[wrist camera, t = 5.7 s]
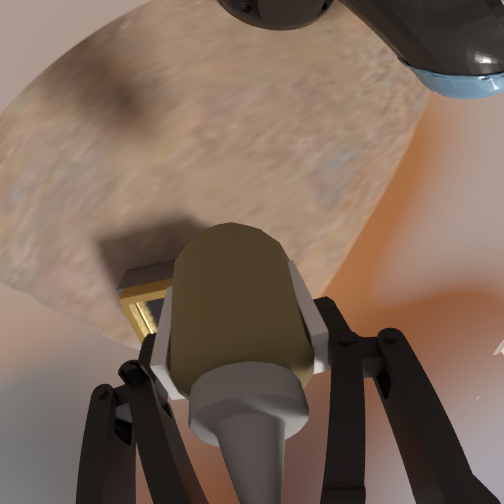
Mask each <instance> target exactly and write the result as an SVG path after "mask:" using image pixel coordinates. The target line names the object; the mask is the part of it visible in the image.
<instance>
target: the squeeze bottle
mask: <svg viewBox="0 0 504 504" xmlns="http://www.w3.org/2000/svg"><path fill="white" fill-rule="evenodd" d="M287 261H290V259H289V258H288V256H287V254H286V253H285V251H284V249H283V248H282V246H281V244H280V243H279V242H278V241H276V240H275V239H273V238H272V237H270V236H269V235H268V234H266V233H265V232H263V231H262V230H260V229H257V228H254V227H251V226H247V225H243V224H238V223H233V222H230V223H224V224H219V225H215V226H213V227H211V228H209V229H208V230H206V231H205V232H203V233H201V234H200V235H198V236H197V237H195V238H193V239H192V240H190V241H189V242H187V244H186V245H185V247H184V248H183V250H182V251H181V253H180V254H179V256H178V257H177V259H176V260H175V265H174V272H173V280H172V306H171V338H170V378H171V380H172V382H173V384H174V385H175V387H176V389H177V391H178V393H179V394H181V395H182V396H184V397H185V398H186V399H188V400H189V428H190V429H191V430H192V432H193V433H194V435H195V436H196V437H197V438H199V439H201V440H203V441H205V442H207V443H208V444H211V445H215V446H219V447H220V449H221V452H222V455H223V457H224V461H225V463H226V466H227V470H228V472H229V475H230V478H231V481H232V483H233V486H234V489H235V491H236V494H237V496H238V499H239V501H240V504H281V499H282V484H283V483H282V482H283V466H284V445H285V440H286V439H287V438H289V437H290V436H292V435H294V434H295V433H297V432H299V431H300V429H301V428H302V427H303V426H304V424H305V423H306V422H307V421H308V419H309V407H308V404H307V401H306V398H305V394H304V391H303V388H304V387H305V386H306V384H307V382H308V381H309V379H310V378H311V376H312V374H313V373H314V356H315V354H314V349H313V348H312V345H311V342H310V339H309V336H308V333H307V330H306V327H305V324H304V321H303V318H302V315H301V312H300V309H299V306H298V303H297V299H296V295H295V291H294V287H293V283H292V278H291V274H290V270H289V266H288V262H287Z"/></svg>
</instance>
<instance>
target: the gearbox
mask: <svg viewBox="0 0 504 504" xmlns="http://www.w3.org/2000/svg"><path fill="white" fill-rule="evenodd" d="M174 265H175V260H173V261H169V262H164V263H160V264H156V265H151V266H147V267H143V268H138V269H134V270H130V271H126V273H125V275H124V277H123V279H122V281H121V283H120V285H119V287H118V289H117V291H118V293H119V295H120V297H119V299H118V300H119V302H120V304H121V306H122V308H123V310H124V312H125V314H126V316H127V318H128V320H129V322H130V324H131V325H132V327H133V329H134V331H135V333H136V335H137V336H138V338H139V340H140V342H141V344H142V342H143V340H144V338H145V337H146V336H147V334H150V333H157V329H158V325H159V320H160V316H161V312H162V308H163V303H164V299H165V295H166V291H167V288H168V287H172V280H173V272H174Z"/></svg>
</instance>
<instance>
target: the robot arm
mask: <svg viewBox="0 0 504 504" xmlns="http://www.w3.org/2000/svg"><path fill="white" fill-rule="evenodd" d="M338 1H340V2H341V3H342V4H343V5H345V6H346V7H347V8H348V9H349V10H351V11H352V12H353V13H354V14H355V15H356V16H358V17H359V18H360V19H361V20H362V21H363V22H364V23H365V24H366V25H367V26H368V27H370V28H371V29H372V30H373V31H374V32H375V33H376V34H377V35H378V36H379V37H380V38H381V39H382V40H383V41H384V42H385V43H386V44H387V45H388V46H389V47H390V49H391V50H392V51H393V52H394V53H395V54H396V55H397V57H398V59H399V61H400V62H401V63H402V64H404V65H405V66H406V67H408V68H410V70H411V71H412V72H413V73H414V74H415V75H416V76H417V77H418V78H419V80H420V81H421V82H422V83H423V84H424V85H425V86H426V87H427V88H429V89H430V90H432V91H434V92H437V93H439V94H441V95H442V96H445V97H450V98H455V99H477V98H484V97H488V96H492V95H495V94H498V93H500V92H502V91H504V0H338ZM219 2H220V3H221V5H222V6H223V7H224V8H225V9H226V10H227V11H228V12H229V13H230V14H231V15H233V16H234V17H236V18H237V19H239V20H241V21H243V22H245V23H247V24H250V25H252V26H255V27H259V28H263V29H269V30H293V29H299V28H302V27H305V26H308V25H310V24H312V23H313V22H315V21H316V20H318V19H319V18H320V17H321V16H322V15H323V14H325V13H326V12H327V10H328V9H329V8H330V6H331V4H332V2H333V0H219ZM287 262H288V266H289V270H290V274H291V278H292V283H293V287H294V291H295V295H296V299H297V303H298V306H299V309H300V312H301V315H302V318H303V321H304V324H305V327H306V330H307V333H308V336H309V339H310V342H311V345H312V348H313V349H314V354H315V356H314V374H315V373H320V372H323V371H326V370H329V366H330V368H331V392H330V412H329V428H328V441H327V451H326V461H325V470H324V479H323V486H322V494H321V500H320V504H365V499H366V489H365V486H364V476H365V398H364V379H363V378H368V377H372V378H373V380H374V383H375V385H376V388H377V391H378V393H379V395H380V398H381V401H382V403H383V406H384V409H385V412H386V414H387V417H388V420H389V422H390V425H391V428H392V431H393V433H394V436H395V439H396V442H397V445H398V448H399V451H400V454H401V457H402V460H403V463H404V466H405V469H406V472H407V476H408V479H409V482H410V485H411V489H412V492H413V496H414V498H415V501H416V504H501V503H500V501H499V500H498V499H497V498H496V497H495V496H494V495H493V494H492V493H491V492H490V491H489V490H488V489H487V488H486V487H485V486H484V485H483V484H482V483H481V482H480V481H479V480H478V479H477V478H476V477H475V476H474V475H473V474H472V471H471V469H470V467H469V464H468V461H467V459H466V456H465V454H464V452H463V449H462V447H461V445H460V443H459V440H458V438H457V435H456V433H455V431H454V429H453V427H452V424H451V422H450V420H449V418H448V416H447V414H446V412H445V410H444V408H443V406H442V404H441V402H440V400H439V398H438V396H437V394H436V392H435V390H434V388H433V386H432V384H431V383H430V380H429V379H428V377H427V375H426V373H425V372H424V370H423V368H422V366H421V364H420V362H419V361H418V359H417V357H416V355H415V353H414V352H413V350H412V348H411V346H410V345H409V343H408V341H407V340H406V338H405V336H404V335H403V333H402V332H401V331H400V330H398V329H395V328H385V329H383V330H381V331H380V332H379V333H378V336H377V337H360V336H358V335H357V334H356V333H355V332H352V331H351V330H350V328H349V326H348V325H347V323H346V321H345V320H344V318H343V316H342V314H341V313H340V311H339V309H338V308H337V306H336V304H335V302H334V301H333V300H332V299H330V298H328V297H327V296H326V297H322V298H318V299H314V300H313V299H312V297H311V295H310V293H309V291H308V289H307V287H306V285H305V283H304V281H303V279H302V277H301V275H300V273H299V271H298V269H297V267H296V265H295V264H294V262H293V260H292V261H287ZM171 306H172V287H168V288H167V291H166V295H165V299H164V303H163V308H162V312H161V316H160V320H159V325H158V329H157V333H150V334H147V336H146V337H145V338H144V340H143V342H142V346H141V350H140V354H139V358H138V360H129V361H127V362H125V363H124V364H123V365H122V366H121V367H120V368H119V371H118V375H119V376H120V377H121V379H122V380H123V381H124V383H125V384H124V385H122V386H119V387H117V388H114V389H113V388H112V386H111V385H109V384H101V385H99V386H97V387H96V388H95V389H94V391H93V393H92V395H91V400H90V405H89V410H88V414H87V420H86V425H85V430H84V437H83V443H82V449H81V456H80V464H79V472H78V482H77V494H76V504H136V484H135V483H136V482H135V474H136V473H135V470H136V464H135V463H136V442H137V446H138V451H139V455H140V459H141V463H142V467H143V470H144V474H145V478H146V481H147V484H148V488H149V491H150V494H151V497H152V500H153V503H154V504H209V503H208V501H207V499H206V497H205V494H204V492H203V490H202V488H201V485H200V483H199V481H198V479H197V476H196V474H195V472H194V469H193V467H192V464H191V462H190V459H189V457H188V454H187V452H186V449H185V446H184V443H183V441H182V438H181V435H180V432H179V430H178V427H177V424H176V421H175V418H174V415H173V412H172V409H171V406H170V404H169V403H168V401H167V398H168V395H169V396H170V397H171V399H172V400H175V399H185V397H184V396H182V395H181V394H179V393H178V391H177V389H176V387H175V385H174V384H173V382H172V380H171V378H170V338H171Z"/></svg>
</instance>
